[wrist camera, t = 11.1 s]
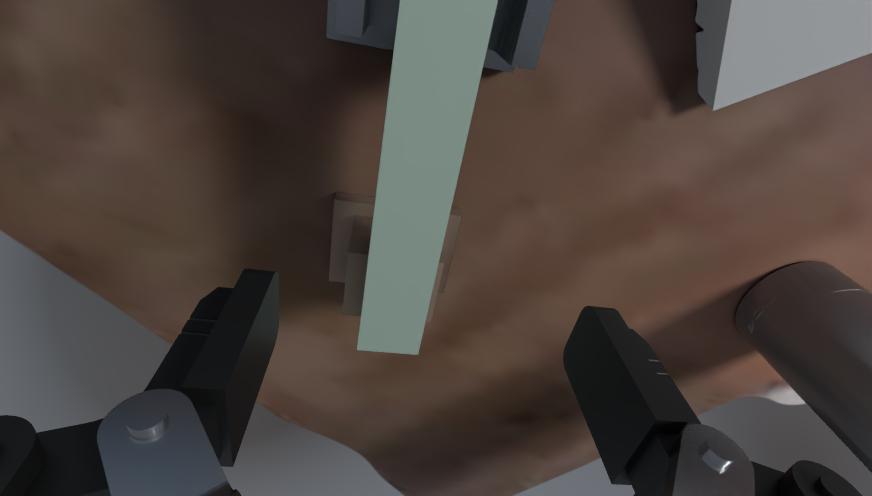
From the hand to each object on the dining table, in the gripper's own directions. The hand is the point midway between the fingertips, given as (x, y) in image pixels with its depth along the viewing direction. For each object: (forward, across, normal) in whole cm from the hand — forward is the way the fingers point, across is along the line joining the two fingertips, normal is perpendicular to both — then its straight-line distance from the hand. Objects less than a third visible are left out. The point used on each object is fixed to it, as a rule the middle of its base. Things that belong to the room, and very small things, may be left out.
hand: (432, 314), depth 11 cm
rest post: (+20, 0, +10) cm, 22 cm away
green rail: (+14, 0, 0) cm, 14 cm away
